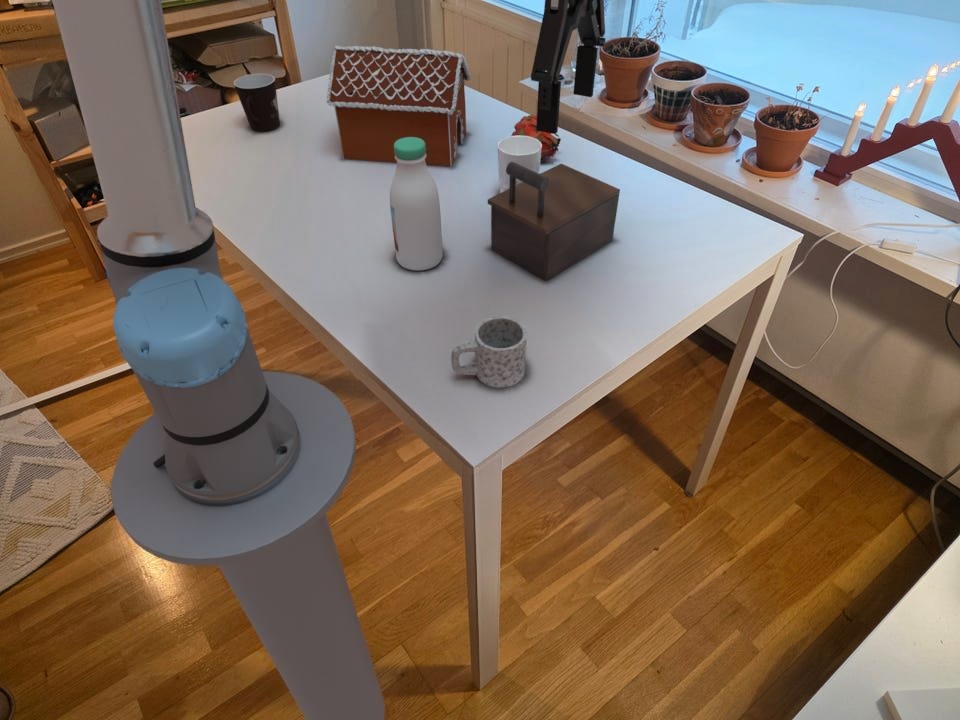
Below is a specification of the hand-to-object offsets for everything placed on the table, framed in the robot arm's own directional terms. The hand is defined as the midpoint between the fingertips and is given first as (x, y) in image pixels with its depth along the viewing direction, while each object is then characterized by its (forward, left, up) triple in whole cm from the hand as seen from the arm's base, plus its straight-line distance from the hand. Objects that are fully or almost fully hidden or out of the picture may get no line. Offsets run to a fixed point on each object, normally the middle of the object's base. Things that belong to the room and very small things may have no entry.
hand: (565, 112), depth 89 cm
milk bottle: (-19, +12, -25) cm, 33 cm away
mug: (-23, -17, -25) cm, 38 cm away
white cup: (+6, +21, -25) cm, 33 cm away
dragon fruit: (+18, +33, -25) cm, 45 cm away
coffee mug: (-27, +76, -25) cm, 84 cm away
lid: (+2, +4, -16) cm, 16 cm away
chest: (+2, +4, -24) cm, 25 cm away
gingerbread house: (-3, +51, -25) cm, 57 cm away
